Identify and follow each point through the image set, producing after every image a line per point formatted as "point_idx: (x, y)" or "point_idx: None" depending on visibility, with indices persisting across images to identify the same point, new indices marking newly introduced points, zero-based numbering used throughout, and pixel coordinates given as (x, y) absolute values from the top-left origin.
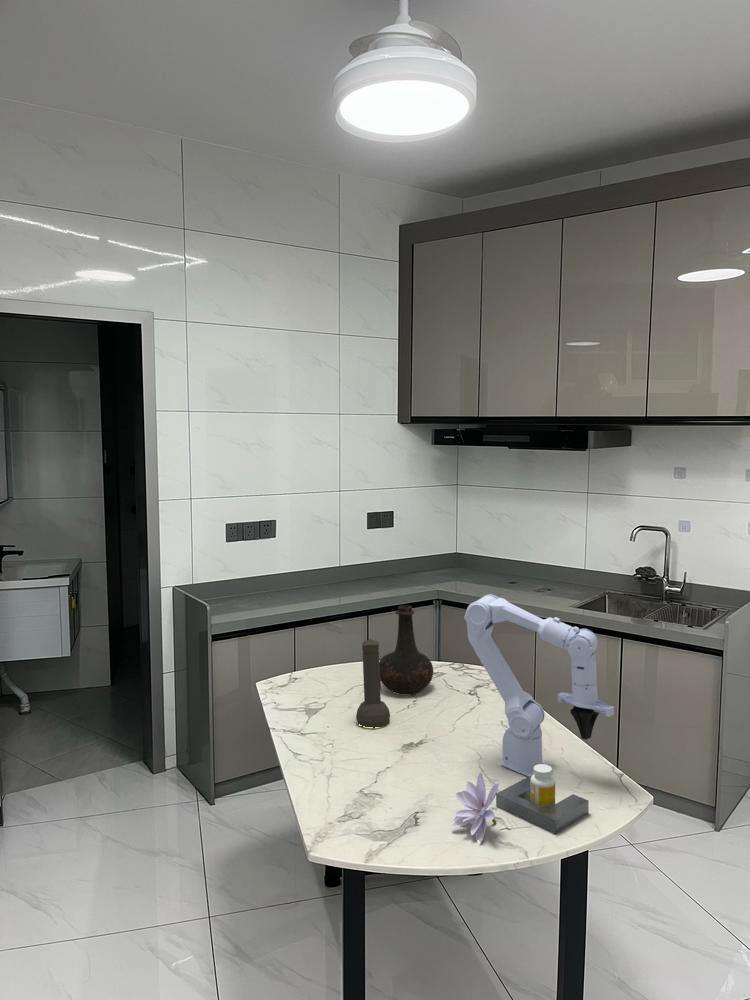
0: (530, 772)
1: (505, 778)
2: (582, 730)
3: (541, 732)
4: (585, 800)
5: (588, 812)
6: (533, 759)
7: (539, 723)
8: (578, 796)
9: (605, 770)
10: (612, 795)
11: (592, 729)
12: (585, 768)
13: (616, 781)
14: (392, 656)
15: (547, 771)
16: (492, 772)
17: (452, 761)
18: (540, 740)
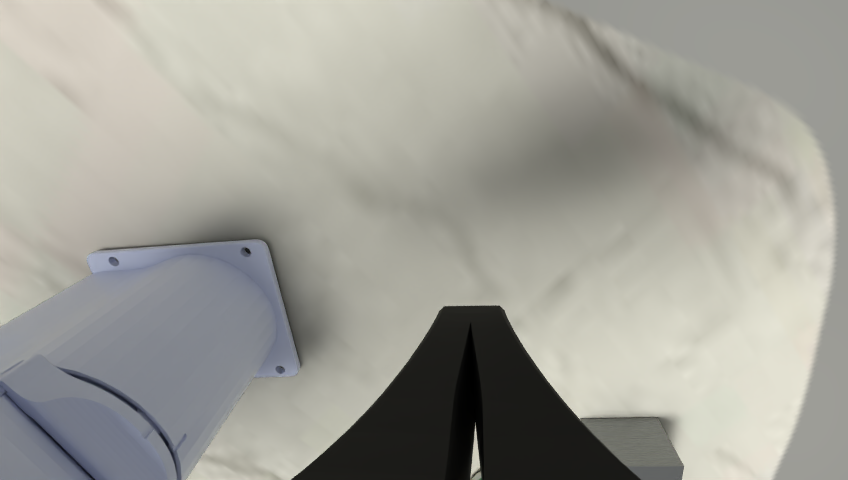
0: (274, 355)
1: (253, 427)
2: (469, 461)
3: (123, 419)
4: (672, 472)
5: (659, 421)
6: (248, 382)
7: (36, 469)
8: (628, 467)
9: (465, 19)
10: (659, 234)
11: (525, 351)
12: (374, 98)
13: (595, 88)
14: None
15: None
16: None
17: None
18: (182, 410)
